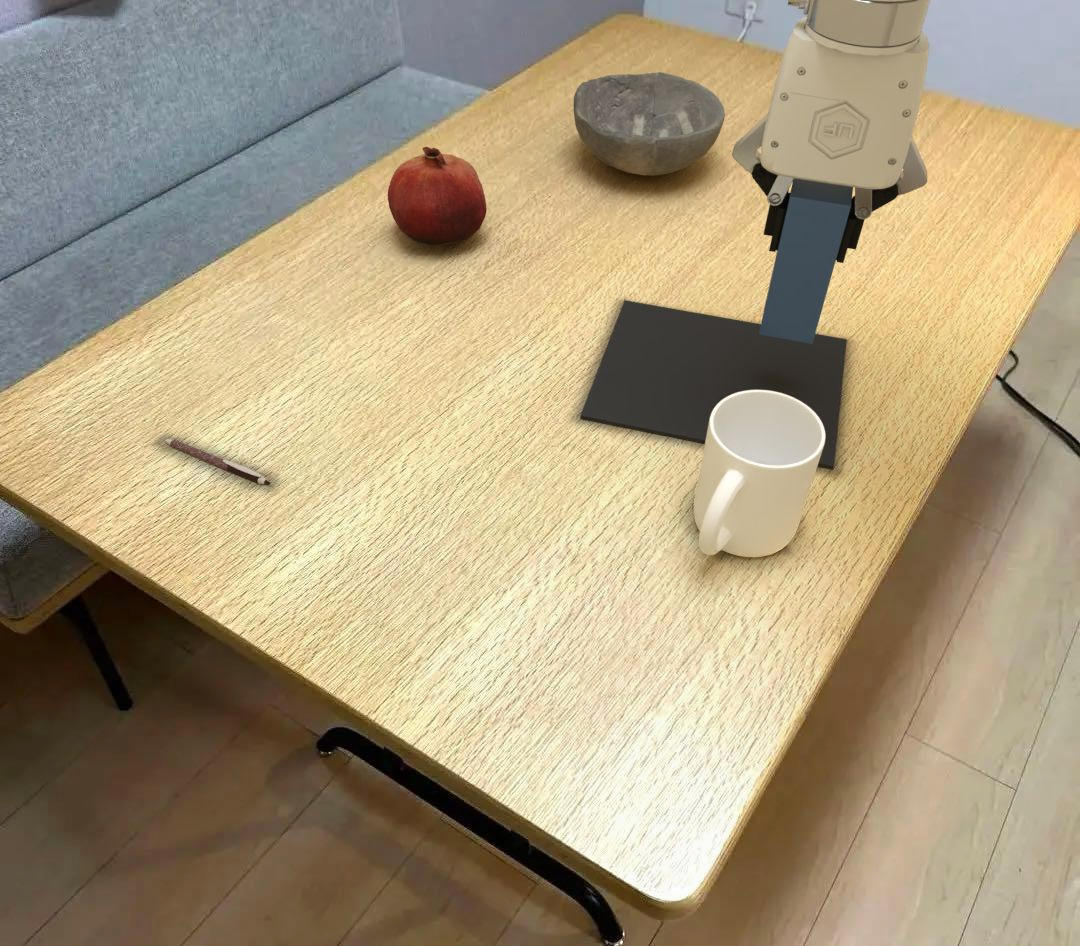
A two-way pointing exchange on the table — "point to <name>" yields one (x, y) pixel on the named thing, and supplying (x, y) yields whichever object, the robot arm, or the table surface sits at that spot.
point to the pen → (219, 462)
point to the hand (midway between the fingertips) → (807, 246)
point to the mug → (756, 472)
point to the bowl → (647, 121)
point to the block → (805, 259)
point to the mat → (707, 372)
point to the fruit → (437, 198)
